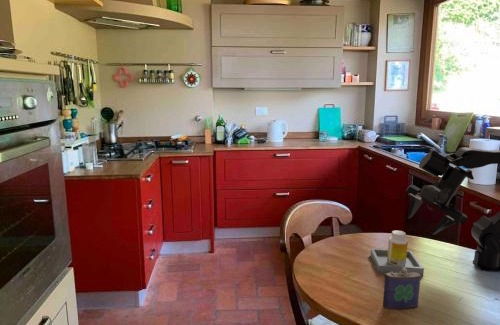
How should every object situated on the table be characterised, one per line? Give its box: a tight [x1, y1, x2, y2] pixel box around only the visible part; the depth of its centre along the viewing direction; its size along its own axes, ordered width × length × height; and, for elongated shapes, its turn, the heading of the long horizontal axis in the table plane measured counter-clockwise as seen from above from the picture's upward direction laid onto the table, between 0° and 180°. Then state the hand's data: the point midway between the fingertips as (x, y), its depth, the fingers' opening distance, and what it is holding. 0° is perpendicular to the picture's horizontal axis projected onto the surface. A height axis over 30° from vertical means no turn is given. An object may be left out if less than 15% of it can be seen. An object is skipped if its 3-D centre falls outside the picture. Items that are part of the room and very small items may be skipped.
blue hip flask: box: [382, 267, 422, 311], centre depth 98 cm, size 9×3×11 cm, turn 95°
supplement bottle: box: [387, 230, 409, 266], centre depth 121 cm, size 6×6×10 cm
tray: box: [370, 248, 425, 277], centre depth 122 cm, size 13×13×2 cm
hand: (420, 226), depth 122 cm, fingers open, 9 cm apart
